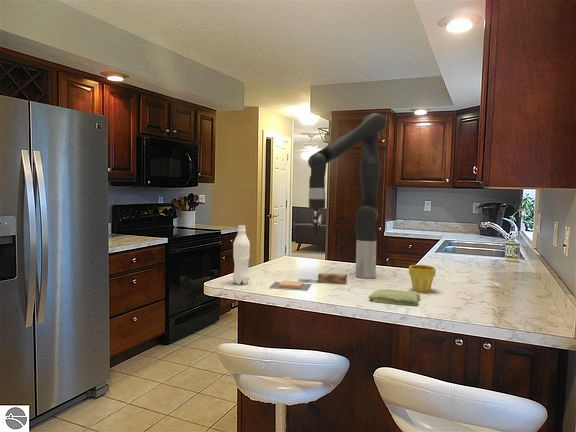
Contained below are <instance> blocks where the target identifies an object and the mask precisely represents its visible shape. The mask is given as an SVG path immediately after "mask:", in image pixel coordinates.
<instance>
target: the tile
mask: <svg viewBox="0 0 576 432" xmlns="http://www.w3.org/2000/svg"><path fill="white" fill-rule="evenodd" d="M279 282H280V284H279V287H281V288H297V289H300V288H301V287H302V286H303V283H304V282H298V280H297V281H296V280H295V281H294V280H281V281H279Z"/></svg>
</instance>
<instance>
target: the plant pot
mask: <svg viewBox="0 0 576 432" xmlns="http://www.w3.org/2000/svg"><path fill="white" fill-rule="evenodd" d="M436 271H437V270H436V267H435V266H431V265H426V264H411V265H409V267H408V275H409V276H410V280H411V285H412V290H413V291H415V292H418V293H428V292H431V288H432V284H433V281H434V277H436V273H437V272H436Z"/></svg>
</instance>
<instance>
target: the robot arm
mask: <svg viewBox="0 0 576 432" xmlns="http://www.w3.org/2000/svg"><path fill="white" fill-rule="evenodd" d="M386 122H387V121H386V118H385V117H384V115H383V114H381V113H379V112H373V113H370V114H368V115H366V116H364V118H363V119H362V120H361V124H359V125H358V126H357V127H355V128H354V129H352V130H350V131H349V132H347V133H346V134H343V135H342V136H340V137H338V138H336V139H335V140H333V141H331V142H330V143H328V145H326V146H325V147H323V148H322V149H320V150H318V151H317V152H314V154H312V155H310V156H309V158H308V160H307V163H308V167H309V168H310V176H309V180H308V183H309V185H308V188H309V189H308V208H309V209H312V210H313V211H312V214H311V215H312V216H311V218H312V226H313V235H314V236H317V235H319V234H320V233H321V225H322V215H323V213H322V210H325V209H326V188H325V187H326V184H325V183H326V180H325V178H326V177H325V176H326V172H327V164H328V163H329V162H331V161H333V160H336V159H337V158H338V157H340V156H342V155H343V154H345V153H346V152H348V151H349V150H350V149H352V148H354V147H355V146H356V145H357V144H359V143H360V142H361V149H360V150H361V153H360V164H359V182H360V183H359V184H360V187H361V188H360V190H361V205H360V207H359V208H358V209H357V211H356V214H355V236H356V243H355V244H356V245H355V246H356V248H355V251H356V252H355V253H356V254H355V277H357V278H361V279H376V272H377V271H376V270H377V239H378V235H377V221H378V219H379V202H378V194H379V186H380V180H381V179H380V177H381V158H380V155H379V150H378V136H379V134H380V133H381V132H382V131H383V130H385V128H386V124H387V123H386Z"/></svg>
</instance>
